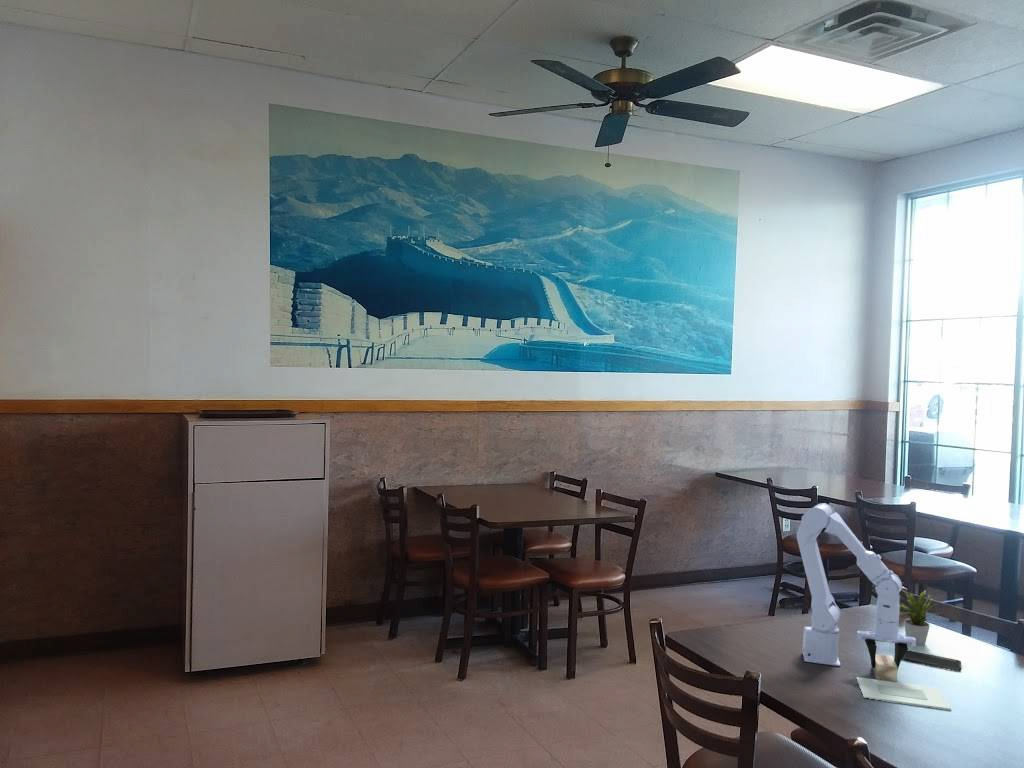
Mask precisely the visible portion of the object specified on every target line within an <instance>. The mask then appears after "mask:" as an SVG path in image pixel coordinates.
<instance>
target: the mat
mask: <svg viewBox="0 0 1024 768" xmlns="http://www.w3.org/2000/svg"><path fill="white" fill-rule="evenodd" d="M855 679H857V680H856V682H857V685H858V684H859V685H858V687H859V689H861V690H860V692H862V693H861V695H862V694H863V695H862V697H864V698H869V699H868V700H871V699H875V700H874V701H878V700H882V701H881V702H885V701H886V702H888V703H894V704H900V703H901V705H907V706H915V707H921V706H922V707H921V708H928V707H931V708H930V709H936V708H937V710H944V711H950V712H951V711H952V707H951V706H950V704H949V702H948V701H947V699H946V698H945V696H944V694H943V693H942V692H941V690H940V688H939V687H935V686H934V687H933V686H927V685H918V684H913V683H912V684H910V683H904V682H898V681H897V682H895V681H887V680H880V679H876V678H875V679H874V678H866V677H859V676H856V677H855ZM864 698H863V699H864Z"/></svg>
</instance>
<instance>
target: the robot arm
mask: <svg viewBox="0 0 1024 768" xmlns="http://www.w3.org/2000/svg"><path fill="white" fill-rule="evenodd" d="M824 528H825V530H824V533H827V534H831V535H835V536H836V537H837V538H838V539H839V540H840V541H841V542H842V543H843V545H845V546H846V547H847V549H849V551H850V552H851V553H852V554H853V555H854V556H855V557H856V565H857V567H858V568H859V569H860V570H861V571H862V572H863V573H864V575H865V576H866V577H867V579H868V580H869V581H870V582H871V583H872V584H874V585H875V592H876V594H877V600H876V605H875V606H876V609H875V623H874V624H875V626H874V631H873V630H856V632H857V633H856V638H857V640H859V641H863V640H864V641H865V644H866V648H867V650H868V654H869V659H870V667H871V668H875V656H876V654H877V648H878V646H877V643H876V642H880V643H881V642H882V643H890V644H894V656H893V659H894V661H895V663H896V665H897V667H898V669H899V667H900V664H901V663H902V661H903V660H902V658H903V656H904V655H905V654H906V652H907V650H909V647H908V646H911V647H917V645H916V639H915V638H914V637H908V636H906V635H905V634H904V635H903V634H899V623H900V621H899V620H900V616H899V615H900V613H899V611H900V609H901V608H900V605H901V603H900V602H901V601H900V600H901V597H900V592H901V591H902V590H903V583H902V581H901V579H900V576H899V575H897V574H895V573H894V572H893V570H892V569H889V568H888V566H886V564H885V563H884V562H883V561H882V560H881V559H882V556H881V555H880V554H878V553H877V554H876V553H875V552H874V551H871V550H868V549H867V548H866V547H864V545H863V544H862V542H861V541H860V540H859V539H858V537H856V535H855V533H854V532H853V531H852V530H851V529H850V527H849V526H848V525H847V524H846V522H845V521H844V520H843V518H842V516H841V515H840V514H839V513H838V512H836V511H835V510H834V508H833V507H832V506H831V505H829V504H827V503H825V502H823V503H818V504H816V505H814V506H813V507H811V508H809V509H808V510H807V511H806V512H805V513H804V514H803V515H802V516H801V520H800V524H799V526H798V529H797V532H796V539H797V544H798V548H799V552H800V556H801V560H802V565H803V568H804V572H805V574H806V580H807V583H808V587H809V592H810V595H811V600H810V601H811V603H810V605H811V606H810V608H811V612H812V613H811V617H810V621H811V626H804V627H803V637H802V646H801V647H802V648H801V652H802V655H803V661H804V662H805V663H806V662H807V663H813V664H822V665H828V666H829V665H830V666H834V667H835V666H836V667H841V662H840V659H839V655H838V654H839V640H840V639H839V638H840V628H839V626H838V622H839V621H840V620H841V617H842V611H841V609H840V608H839V606H838V605H837V604H836V602H835V598H834V597H833V595H832V593H831V592H830V586H829V583H828V579H827V577H826V576H827V575H826V572H825V568H824V565H823V561H822V556H821V554H820V549H819V545H818V541H817V537H818V536H819V535H820V534H821V533H822V531H823V529H824ZM901 589H902V590H901Z"/></svg>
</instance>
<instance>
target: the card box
mask: <svg viewBox="0 0 1024 768" xmlns="http://www.w3.org/2000/svg"><path fill="white" fill-rule="evenodd" d="M873 670H874V671H873ZM872 671H873V673H875V674H874V676H875V679H876V678H877V679H876V680H880V679H881V680H883V681H890V682H895V681H896V682H898V671H899V668H898V667H897V665H896V663H895V661H894V656H893V655H891V654H889V655H887V654H883V653H881V654H880V653H876V656H875V668H873V669H872Z"/></svg>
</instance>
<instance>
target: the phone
mask: <svg viewBox="0 0 1024 768" xmlns="http://www.w3.org/2000/svg"><path fill="white" fill-rule="evenodd" d="M901 661H904V662H908V663H914V664H917V665H918V664H919V665H923V664H924V665H923V666H928V665H929V666H928V667H933V666H934V667H933V668H937V667H939V668H938V669H942V668H945V669H944V670H947V669H950V670H949V671H952V670H954V671H953V672H958V671H959V672H961V671H962V661H961V660H958V659H954V658H950V657H949V658H948V657H944V656H938V655H934V654H928V653H924V652H919V651H913V650H909V649H908V650H907V652H906V654H905V655H904V656H903V658H902V660H901Z"/></svg>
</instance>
